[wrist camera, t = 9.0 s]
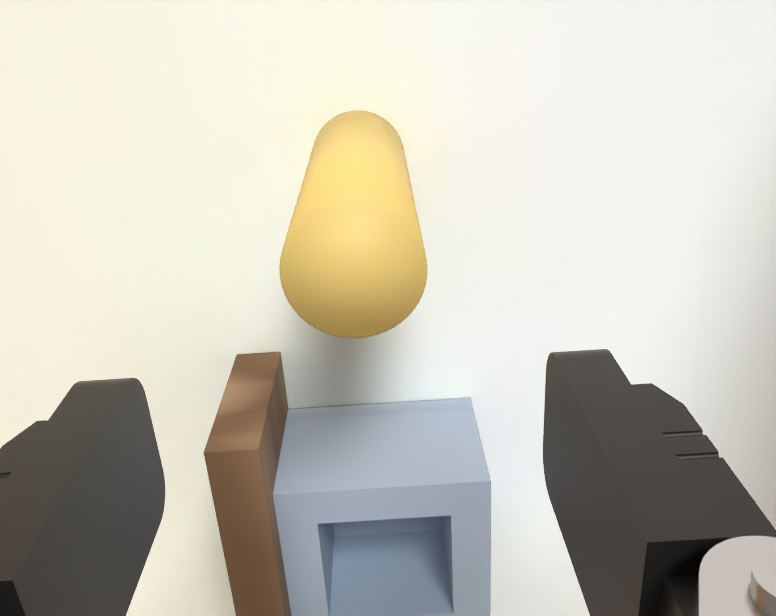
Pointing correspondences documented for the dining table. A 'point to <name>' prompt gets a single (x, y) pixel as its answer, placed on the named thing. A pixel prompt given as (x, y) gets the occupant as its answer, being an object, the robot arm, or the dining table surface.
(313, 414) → the socket block
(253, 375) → the wall
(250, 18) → the dining table surface
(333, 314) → the dowel
